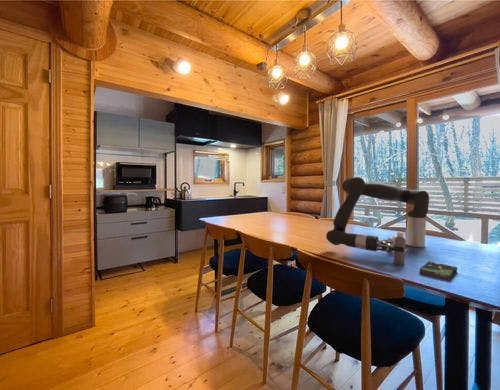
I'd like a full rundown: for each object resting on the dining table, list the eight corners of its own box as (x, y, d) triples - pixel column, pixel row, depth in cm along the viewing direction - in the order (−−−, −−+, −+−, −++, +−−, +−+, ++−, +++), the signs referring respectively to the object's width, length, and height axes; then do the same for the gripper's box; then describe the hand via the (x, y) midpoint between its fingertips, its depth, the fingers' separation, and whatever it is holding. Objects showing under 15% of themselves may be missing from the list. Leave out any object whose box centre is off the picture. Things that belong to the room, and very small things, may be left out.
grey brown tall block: (392, 264, 116) (394, 232, 115) (394, 262, 120) (395, 230, 119) (403, 266, 113) (405, 233, 113) (405, 264, 117) (406, 232, 116)
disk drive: (428, 267, 115) (419, 274, 105) (428, 261, 115) (419, 268, 105) (457, 273, 107) (450, 282, 97) (457, 266, 107) (450, 275, 97)
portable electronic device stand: (400, 255, 130) (401, 240, 129) (384, 252, 136) (385, 237, 135) (407, 252, 135) (407, 237, 135) (391, 249, 141) (392, 235, 141)
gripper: (362, 237, 119) (403, 243, 109) (370, 232, 130) (408, 237, 120) (362, 253, 120) (402, 260, 109) (370, 246, 131) (407, 252, 120)
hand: (405, 248), depth 115 cm, fingers open, 7 cm apart
